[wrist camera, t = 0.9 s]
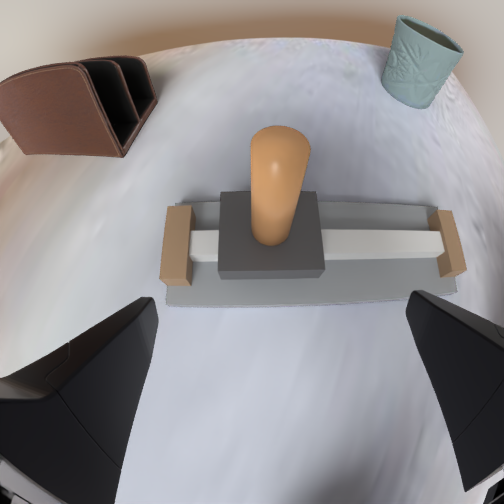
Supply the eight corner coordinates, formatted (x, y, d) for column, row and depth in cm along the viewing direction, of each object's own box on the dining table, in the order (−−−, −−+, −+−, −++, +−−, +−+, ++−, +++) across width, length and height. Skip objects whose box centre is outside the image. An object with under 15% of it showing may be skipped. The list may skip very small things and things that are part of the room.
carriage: (220, 279, 20) (193, 205, 11) (223, 205, 22) (206, 105, 13) (318, 278, 20) (371, 206, 11) (311, 205, 22) (343, 108, 13)
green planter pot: (365, 81, 34) (386, 15, 22) (393, 67, 36) (412, 13, 25) (422, 121, 31) (456, 57, 20) (441, 101, 33) (469, 49, 22)
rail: (169, 306, 22) (157, 298, 19) (178, 208, 25) (170, 190, 23) (451, 294, 22) (469, 286, 19) (432, 211, 25) (447, 197, 23)
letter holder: (124, 159, 28) (74, 59, 15) (25, 156, 30) (-22, 94, 16) (159, 102, 32) (133, 10, 18) (58, 108, 33) (24, 46, 20)
